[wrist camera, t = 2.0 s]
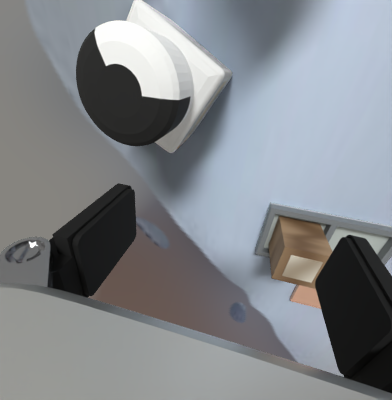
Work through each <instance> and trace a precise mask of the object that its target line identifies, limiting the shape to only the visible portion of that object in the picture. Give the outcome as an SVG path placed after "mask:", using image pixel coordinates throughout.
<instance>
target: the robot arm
mask: <svg viewBox="0 0 392 400" xmlns="http://www.w3.org/2000/svg"><path fill="white" fill-rule="evenodd" d="M135 237H136V214H135V192H134V190H132V189H131V186H128V185H123V184H117V185H115V186H114V187H113V188H111V189H110V190H109V191H108V192H106V193H105V194H104V195H103V196H101V197H100V198H99V199H97V200H96V201H95V202H94V203H92V204H91V205H90V206H88V207H87V208H86V209H85V210H83V211H82V212H81V213H80V214H78V215H77V216H76V217H74V218H73V219H72V220H70V221H69V222H68V223H67V224H66V225H64V226H63V227H62V228H60V229H59V230H58V231H56V232H55V233H54V234H53V238H52V239H50V240H49V241H48V240H47V239H45V238H42V237H29V238H25V239H21V240H19V241H17V242H14V243H12V244H11V245H9V246H7V247H6V248H5V249H4V250H3V251H2V252H1V254H0V400H392V276H391V274H390V273H389V271H388V270H387V269H386V267H385V266H384V264H383V263H382V261H381V260H380V258H379V257H378V255H377V254H376V252H375V251H374V249H373V248H372V246H371V245H370V243H369V242H368V241H367V239H366V238H362V237H358V236H353V235H347V236H346V237H342V238H341V239H340V240H339V242H338V244H337V245H336V247H335V249H334V250H333V252H332V254H331V255H330V257H329V259H328V260H327V262H326V263H325V265H324V267H323V268H322V270H321V272H320V273H319V275H318V277H317V278H316V281H315V288H316V292H317V295H318V299H319V302H320V306H321V309H322V313H323V317H324V320H325V324H326V327H327V331H328V334H329V338H330V341H331V345H332V349H333V352H334V356H335V359H336V363H337V366H338V369H339V371H340V373H341V374H344V377H341V376H338V375H335V374H332V373H329V372H326V371H322V370H319V369H316V368H313V367H310V366H307V365H304V364H300V363H297V362H294V361H291V360H288V359H285V358H281V357H278V356H275V355H272V354H269V353H266V352H262V351H259V350H256V349H253V348H250V347H247V346H243V345H240V344H237V343H233V342H231V341H227V340H224V339H221V338H218V337H214V336H211V335H208V334H205V333H202V332H198V331H195V330H192V329H189V328H186V327H182V326H179V325H176V324H173V323H169V322H166V321H163V320H160V319H156V318H153V317H150V316H147V315H143V314H140V313H137V312H134V311H130V310H127V309H124V308H120V307H117V306H114V305H110V304H107V303H104V302H101V301H97V300H93V299H90V298H88V297H89V296H92V295H94V293H95V292H96V291H97V290H98V288H99V287H100V285H101V284H102V283H103V281H104V280H105V279H106V277H107V276H108V275H109V273H110V272H111V270H112V269H113V268H114V266H115V265H116V264H117V262H118V261H119V260H120V258H121V257H122V256H123V254H124V253H125V252H126V250H127V249H128V247H129V246H130V245H131V244H132V242H133V241H134V239H135Z"/></svg>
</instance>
